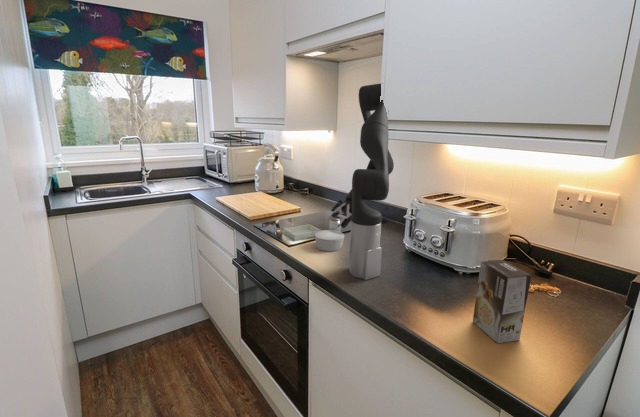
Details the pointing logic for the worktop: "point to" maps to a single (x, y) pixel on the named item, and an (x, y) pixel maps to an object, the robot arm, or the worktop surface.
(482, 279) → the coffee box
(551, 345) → the worktop surface
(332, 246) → the ramekin
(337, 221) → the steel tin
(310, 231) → the tray
